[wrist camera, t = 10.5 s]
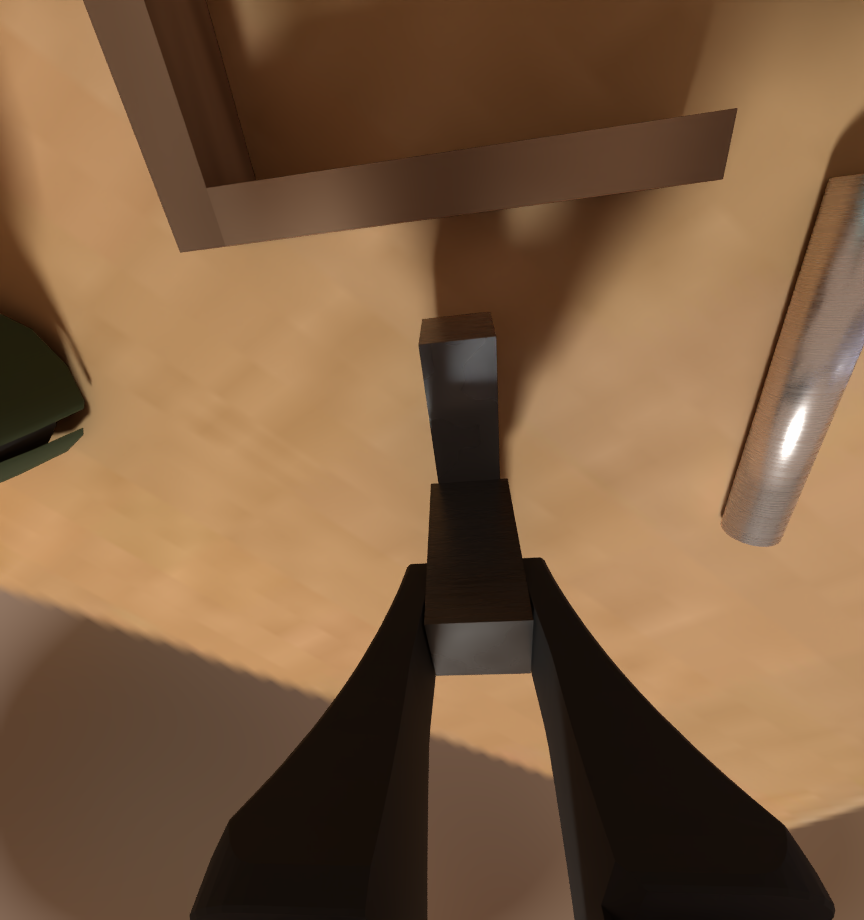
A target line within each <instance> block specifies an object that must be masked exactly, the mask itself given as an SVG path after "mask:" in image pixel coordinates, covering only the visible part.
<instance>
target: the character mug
mask: <svg viewBox="0 0 864 920" xmlns="http://www.w3.org/2000/svg"><path fill="white" fill-rule="evenodd" d="M82 409H84V399H83V397H82V395H81V393H80V391H79V389H78V387H77V385H76V383H75V381H74V378H73V376H72V374H71V372H70V370H69V368H68V366H67V365H66V364H65V363H64V362H63V361H62V360H61V359H60V358H59V357H58V356H57V355H56V354H55V353H54V352H53V351H52V350H51V349H50V348H49V347H48V345H47V344H46V343H45V342H44V341H43V340H42V339H41V338H40V337H39V336H38V335H37V334H36V333H35V332H34V331H33V330H32V329H30V328H28V327H26V326H24V325H22V324H20V323H18V322H16V321H14V320H12V319H10V318H8V317H6V316H4V315H2V314H0V483H1V482H3V481H6V480H8V479H10V478H13V477H15V476H17V475H20V474H22V473H24V472H26V471H28V470H30V469H32V468H34V467H36V466H38V465H40V464H42V463H44V462H46V461H48V460H50V459H52V458H54V457H56V456H59V455H61V454H63V453H65V452H67V451H68V450H69V449H70V448H71V447H72V446H73V445H74V444H75V443H76V442H77V441H78V440H79V439H80V438H81V437H82V436H83V428H81V429H79V430H77V431H75V432H72V433H70V434H68V435H65V436H63V437H61V438H59V439H56V440H54V441H52V442H50V443H48V442H49V440H50V438H51V436H52V434H53V431H54V429H55V427H56V421H58V420H61V419H63V418H65V417H67V416H69V415H71V414H74V413H76V412H78V411H80V410H82Z"/></svg>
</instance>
